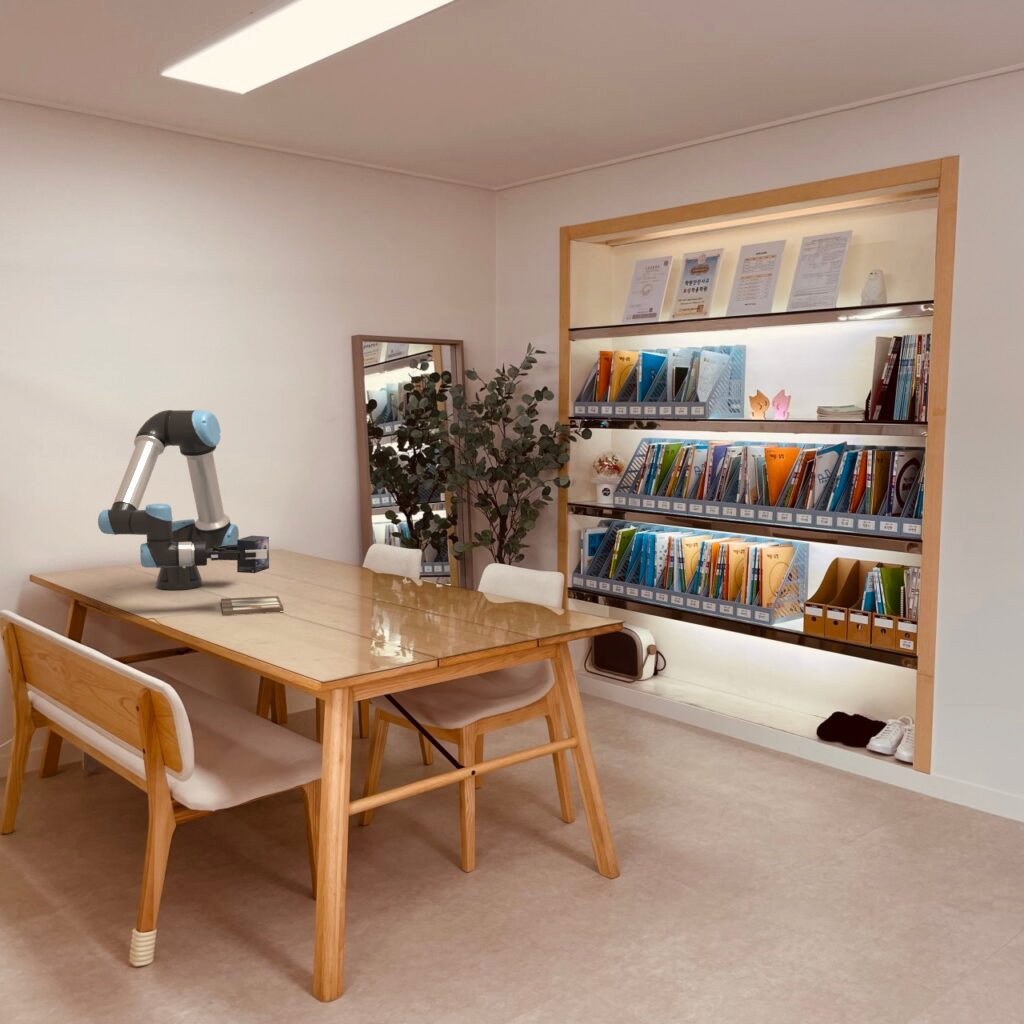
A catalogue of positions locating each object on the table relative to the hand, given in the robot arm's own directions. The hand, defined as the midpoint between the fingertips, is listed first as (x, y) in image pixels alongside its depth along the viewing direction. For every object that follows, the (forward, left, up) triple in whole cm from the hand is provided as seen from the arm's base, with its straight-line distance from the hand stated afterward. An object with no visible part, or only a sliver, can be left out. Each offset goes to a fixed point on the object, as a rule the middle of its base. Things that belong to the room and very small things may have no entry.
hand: (265, 551), depth 330 cm
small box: (0, -4, -6) cm, 7 cm away
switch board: (0, -5, -18) cm, 18 cm away
